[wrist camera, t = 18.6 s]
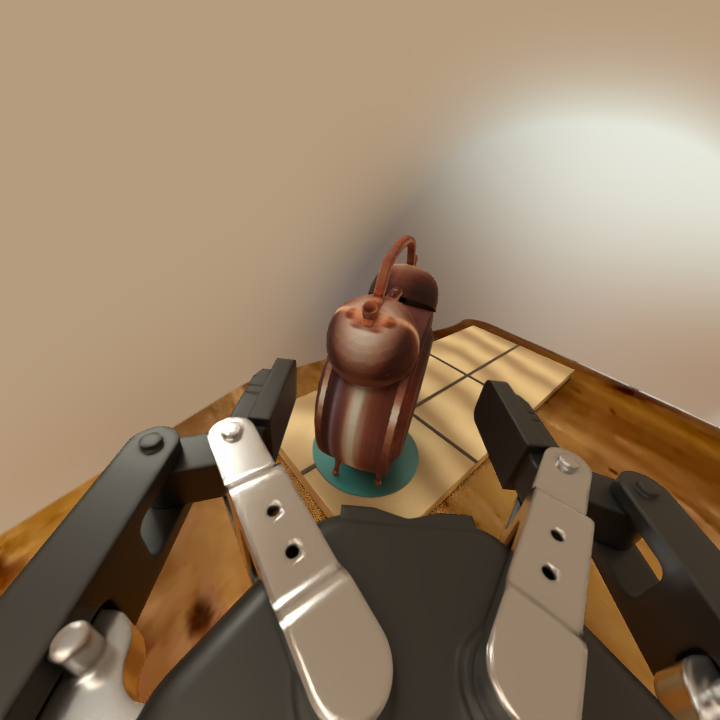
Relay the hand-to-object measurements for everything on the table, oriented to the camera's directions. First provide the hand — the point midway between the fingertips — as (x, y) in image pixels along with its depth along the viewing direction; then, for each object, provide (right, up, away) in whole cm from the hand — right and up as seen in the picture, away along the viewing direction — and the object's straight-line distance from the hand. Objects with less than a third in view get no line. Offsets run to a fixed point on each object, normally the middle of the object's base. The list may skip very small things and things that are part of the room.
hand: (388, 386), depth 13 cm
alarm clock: (0, -6, +10) cm, 11 cm away
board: (+7, -3, +18) cm, 20 cm away
